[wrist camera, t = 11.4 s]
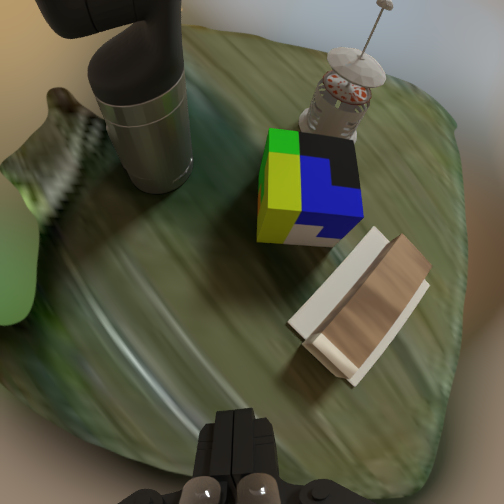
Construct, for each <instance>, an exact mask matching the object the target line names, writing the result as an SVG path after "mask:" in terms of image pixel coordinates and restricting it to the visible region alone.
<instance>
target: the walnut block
mask: <svg viewBox="0 0 504 504" xmlns="http://www.w3.org/2000/svg"><path fill="white" fill-rule="evenodd" d="M431 268H432V265H431V264H430V263H429V262H428V260H427V259H426V258H425V257H424V256H423V255H422V254H421V253H420V252H419V251H418V250H417V248H416V247H415V246H414V245H413V244H412V243H411V242H410V241H409V240H408V239H407V238H406V237H405V236H404V235H403V234H400V235H399V236H398V237H396V238H395V239H393V240H392V241H390V242H389V243H388V244H386V245H385V247H384V248H383V249H382V251H381V252H380V253H379V254H378V256H377V257H376V258H375V259H374V261H373V262H372V263H371V264H370V266H369V267H368V268H367V269H366V271H365V272H364V273H363V274H362V276H361V277H360V278H359V279H358V280H357V282H356V283H355V284H354V285H353V286H352V288H351V289H350V290H349V291H348V292H347V294H346V295H345V296H344V297H343V298H342V299H341V301H340V302H339V303H338V304H337V305H336V306H335V308H334V309H333V310H332V311H331V312H330V313H329V314H328V316H327V317H326V318H325V319H324V320H323V321H322V322H321V323H320V325H319V326H318V327H317V328H316V329H315V330H314V331H313V332H312V333H311V334H310V336H309V337H308V338H307V339H306V340H305V341H304V342H303V343H302V345H303V346H304V347H305V348H306V349H307V350H308V351H309V352H310V353H311V354H312V355H313V356H314V357H316V358H317V359H318V360H319V361H320V362H321V363H322V364H323V365H324V366H325V367H326V368H327V369H328V370H329V371H330V372H331V373H332V374H334V375H335V376H336V377H340V378H345V379H351V378H352V376H353V375H354V374H355V373H356V372H357V370H358V369H359V368H360V367H361V366H362V364H363V363H364V362H365V361H366V359H367V358H368V357H369V356H370V354H371V353H372V352H373V351H374V349H375V348H376V347H377V346H378V344H379V343H380V342H381V340H382V339H383V338H384V336H385V335H386V334H387V332H388V331H389V330H390V328H391V327H392V326H393V324H394V323H395V321H396V320H397V319H398V317H399V316H400V314H401V313H402V312H403V310H404V309H405V307H406V306H407V304H408V303H409V302H410V300H411V299H412V297H413V296H414V294H415V293H416V291H417V290H418V288H419V287H420V285H421V283H422V282H423V280H424V279H425V277H426V276H427V274H428V272H429V271H430V269H431Z"/></svg>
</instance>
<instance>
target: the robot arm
mask: <svg viewBox="0 0 504 504" xmlns="http://www.w3.org/2000/svg"><path fill="white" fill-rule="evenodd" d="M35 1H36V3H37V5H38V7H39V9H40V11H41V13H42V15H43V17H44V18H45V20H46V22H47V23H48V24H49V26H50V27H51V28H52V29H53V30H54V32H55V33H57V34H58V35H59V36H61V37H63V38H67V39H75V38H81V37H85V36H89V35H92V34H96V33H99V32H102V31H106V30H109V29H112V28H116V27H120V26H123V25H127V24H131V23H133V24H132V25H131V26H130V27H128V28H127V29H126V30H124V31H123V32H121V33H119V34H118V35H116V36H115V37H113V38H112V39H110V40H109V41H107V42H106V43H105V44H103V45H102V47H100V48H99V49H98V50H97V52H96V53H95V54H94V55H93V57H92V59H91V60H90V63H89V66H88V79H89V83H90V85H91V88H92V90H93V93H94V95H95V97H96V100H97V102H98V105H99V107H100V110H101V112H102V114H103V117H104V119H105V122H106V124H107V126H106V130H107V132H108V134H109V136H110V139H111V141H112V143H113V145H114V148H115V150H116V152H117V154H118V157H119V159H120V161H121V163H122V165H123V167H124V169H126V170H127V172H128V174H129V177H130V179H131V180H132V182H133V184H134V185H135V186H136V187H137V188H138V189H140V190H142V191H144V192H147V193H151V194H162V193H166V192H170V191H172V190H174V189H176V188H178V187H179V186H181V185H182V184H183V183H184V182H185V181H186V180H187V179H188V177H189V176H190V174H191V171H192V169H193V154H192V144H191V135H190V125H189V115H188V104H187V93H186V83H185V71H184V60H183V49H182V34H181V0H35ZM118 504H376V503H374V502H372V501H370V500H368V499H366V498H364V497H362V496H360V495H358V494H356V493H354V492H352V491H351V490H349V489H347V488H345V487H343V486H341V485H340V484H338V483H336V482H334V481H332V480H328V479H318V480H314V481H311V482H309V483H308V484H306V485H305V486H303V485H293V484H289V483H287V482H285V481H283V480H282V479H281V478H280V477H279V468H278V458H277V449H276V443H275V438H274V432H273V427H272V424H271V423H270V422H269V421H268V419H267V418H260V419H255V415H254V411H253V408H245V409H236V410H227V411H217V412H216V419H215V423H210V424H205V426H204V427H203V428H202V430H201V431H200V433H199V440H198V446H197V452H196V458H195V465H194V471H193V477H192V479H191V480H190V481H188V482H187V483H186V484H185V486H184V488H183V489H182V490H180V491H178V492H174V493H170V494H165V495H160V494H159V493H158V492H157V491H155V490H152V489H141V490H138V491H136V492H135V493H133V494H131V495H130V496H128V497H127V498H125V499H124V500H123V501H121V502H120V503H118Z"/></svg>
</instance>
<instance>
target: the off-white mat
mask: <svg viewBox="0 0 504 504" xmlns="http://www.w3.org/2000/svg"><path fill="white" fill-rule="evenodd" d="M388 243H389V241H388V240H387V239H386V238H385V237H384V235H383V234H382V233H381V232H380V231H379V230H378V229H377V228H376V227H375V226H373V227H372V228H371V230H370V231H369V232H368V233H367V234H366V235H365V237H364V238H363V239H362V240H361V241H360V242H359V244H358V245H357V246H356V247H355V248H354V249H353V251H352V252H351V253H350V254H349V255H348V256H347V257H346V259H345V260H344V261H343V262H342V263H341V264H340V265H339V266H338V268H337V269H336V270H335V271H334V272H333V273H332V274H331V275H330V276H329V278H328V279H327V280H326V281H325V282H324V283H323V284H322V285H321V286H320V287H319V289H318V290H317V291H316V292H315V293H314V294H313V295H312V296H311V297H310V298H309V299H308V300H307V301H306V303H305V304H304V305H303V306H302V307H301V308H300V309H299V310H298V311H297V312H296V313H295V314H294V315H293V316H292V317H291V318H290V319H289V320H288V321H287V322H288V323H289V324H290V325H291V326H292V327H293V328H294V329H295V330H296V331H297V332H298V333H299V334H300V335H301V336H302V337H303V338H304V339H305V340H306V339H307V338H308V337H309V336H310V334H311V333H312V332H313V331H314V330H315V329H316V328H317V327H318V326H319V325H320V323H321V322H322V321H323V320H324V319H325V318H326V317H327V316H328V314H329V313H330V312H331V311H332V310H333V309H334V308H335V306H336V305H337V304H338V303H339V302H340V301H341V299H342V298H343V297H344V296H345V295H346V294H347V292H348V291H349V290H350V289H351V288H352V286H353V285H354V284H355V283H356V282H357V280H358V279H359V278H360V277H361V276H362V274H363V273H364V272H365V271H366V269H367V268H368V267H369V266H370V264H371V263H372V262H373V261H374V259H375V258H376V257H377V256H378V254H379V253H380V252H381V251H382V249H383V248H384V247H385V245H386V244H388ZM429 286H430V285H429V284H428V283H427V281H426V280H425V279H424V280H423V282H422V283H421V285H420V287H419V288H418V290H417V291H416V293H415V294H414V296H413V297H412V299H411V300H410V302H409V303H408V304H407V306H406V307H405V309H404V310H403V312H402V313H401V314H400V316H399V317H398V319H397V320H396V321H395V323H394V324H393V326H392V327H391V328H390V330H389V331H388V332H387V334H386V335H385V336H384V338H383V339H382V340H381V342H380V343H379V344H378V346H377V347H376V348H375V349H374V351H373V352H372V353H371V354H370V356H369V357H368V358H367V359H366V361H365V362H364V363H363V364H362V366H361V367H360V368H359V369H358V370H357V372H356V373H355V374H354V375H353V376H352V378H351V379H347V380H348V381H349V382H350V383H351V384H352V385H353V386H354V387H355V386H356V385H357V384H358V383H359V382H360V380H361V379H362V378H363V377H364V376H365V374H366V373H367V372H368V371H369V369H370V368H371V367H372V366H373V364H374V363H375V362H376V361H377V359H378V358H379V357H380V356H381V354H382V353H383V352H384V350H385V349H386V348H387V346H388V345H389V344H390V342H391V341H392V340H393V338H394V337H395V336H396V334H397V333H398V332H399V330H400V329H401V327H402V326H403V325H404V323H405V322H406V320H407V319H408V317H409V316H410V315H411V313H412V312H413V310H414V309H415V307H416V306H417V304H418V303H419V301H420V300H421V298H422V297H423V295H424V294H425V292H426V290H427V289H428V287H429Z"/></svg>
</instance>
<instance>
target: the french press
mask: <svg viewBox="0 0 504 504" xmlns="http://www.w3.org/2000/svg"><path fill="white" fill-rule="evenodd" d="M376 3H377V5H378V6H380V7H382V9H381V12H380V14H379V16H378V18H377V20H376V23H375V25H374V27H373V29H372V31H371V34H370V36H369V38H368V40H367V43H366V45H365V47H364V49H363V51H360V50H358V49H354V48H345V47H339V48H335V49H332V50H331V51H330V52H329V53H328V58H327V60H328V62H329V64H330V66H331V68H332V71H328V72H327V73H326V74H325V75H324V76H323V78H322V79H321V80H320V81H319V83H318V85H317V87H316V91H315V93H314V95H313V99H312V100H313V101H311V104H310V108H307V109H305V110H304V111H303V113H302V114H301V115H300V118H299V126H300V129H301V132H305V133H313V134H319V135H326V136H332V137H338V138H344V139H350V140H354V143H355V142H356V139H357V131H356V128H357V127H358V125H359V123H360V121H361V120H362V118H363V116H364V115H365V113H366V111H367V109H368V108H369V106H370V99H371V90H370V88H375V87H378V86H381V85H383V83H384V82H385V80H386V77H385V72H384V71H383V69H382V67H381V66H380V65H379V63H378V62H377V61H376V60H375V59H374V58H373V57H371V56H369V55H368V54H366V53H364V52H365V49H366V47H367V45H368V43H369V41H370V38H371V36H372V34H373V32H374V30H375V28H376V25H377V23H378V21H379V19H380V16H381V14H382V12H383V10H384V9H386V10H392V8H393V4H392V1H391V0H377V2H376ZM321 83H323V84H324V85H322V86H319V84H321ZM318 86H319V87H318ZM321 88H324V89H326V90H325V91H319V89H321ZM321 94H324V95H323V97H322V96H321ZM314 97H315V98H314ZM337 99H338V100H340V101H341V104H340V106H339V108H338V109H337V108H336V107H334V106H335V104H336V102H337ZM314 101H315V103H314ZM365 103H367V109H366V107H365V105H364V104H365ZM357 105H362V107H363V109H364V111H363V112H362V110H361V109H360V107H359V106H357ZM355 108H356V109H357V110H358V111H359V113H357V112H356V111H355ZM360 119H361V120H360ZM357 121H358V123H357ZM357 124H358V125H357Z"/></svg>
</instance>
